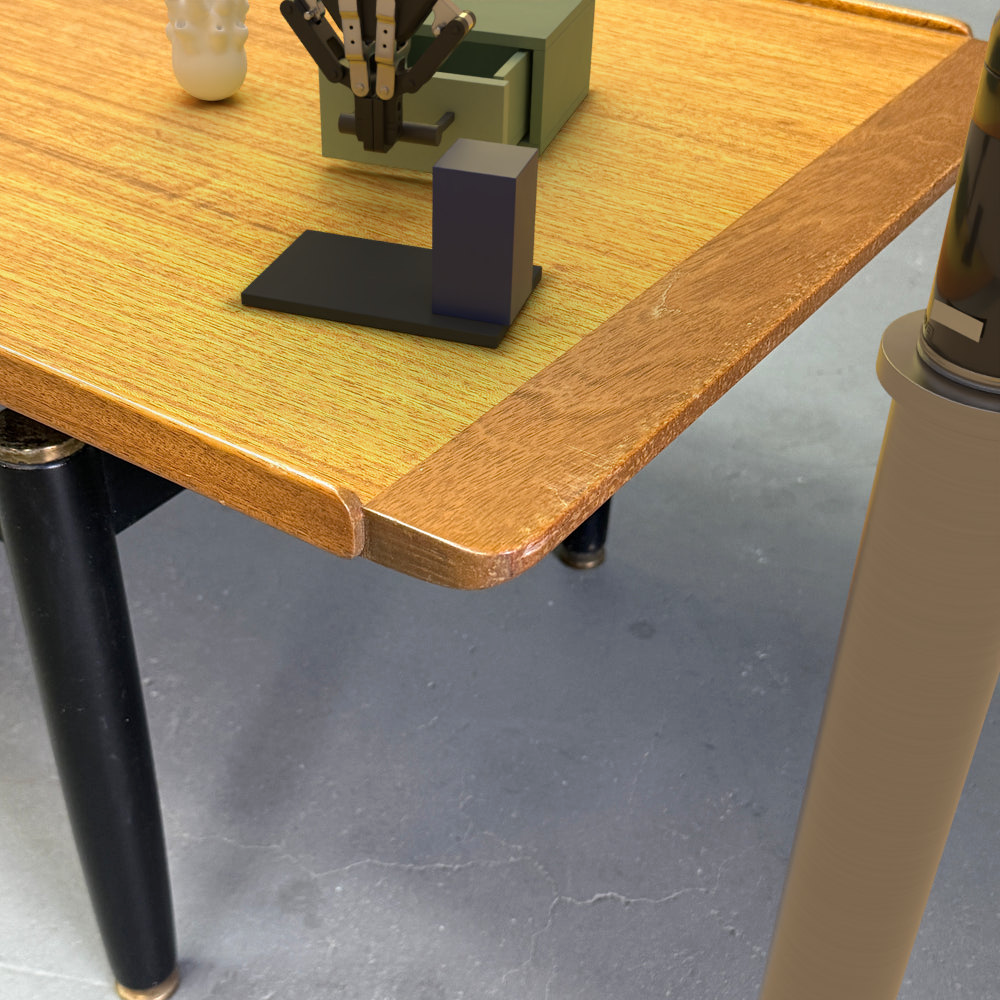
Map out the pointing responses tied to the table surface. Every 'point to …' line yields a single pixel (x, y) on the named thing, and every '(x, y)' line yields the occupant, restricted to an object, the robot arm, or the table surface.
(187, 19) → the figurine
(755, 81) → the table surface
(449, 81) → the drawer
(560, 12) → the cabinet
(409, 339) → the table surface
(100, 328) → the table surface
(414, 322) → the mat
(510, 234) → the navy box
